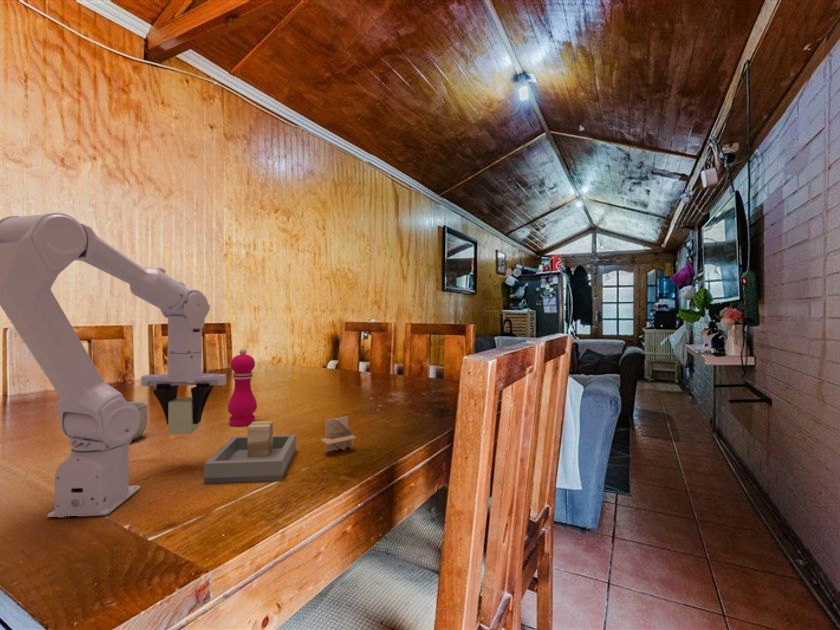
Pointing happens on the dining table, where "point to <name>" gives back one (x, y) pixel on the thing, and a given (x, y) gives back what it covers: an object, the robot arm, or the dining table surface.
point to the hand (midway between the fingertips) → (184, 423)
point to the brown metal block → (260, 439)
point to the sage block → (181, 416)
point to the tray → (249, 461)
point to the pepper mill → (242, 391)
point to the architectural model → (337, 434)
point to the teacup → (143, 412)
